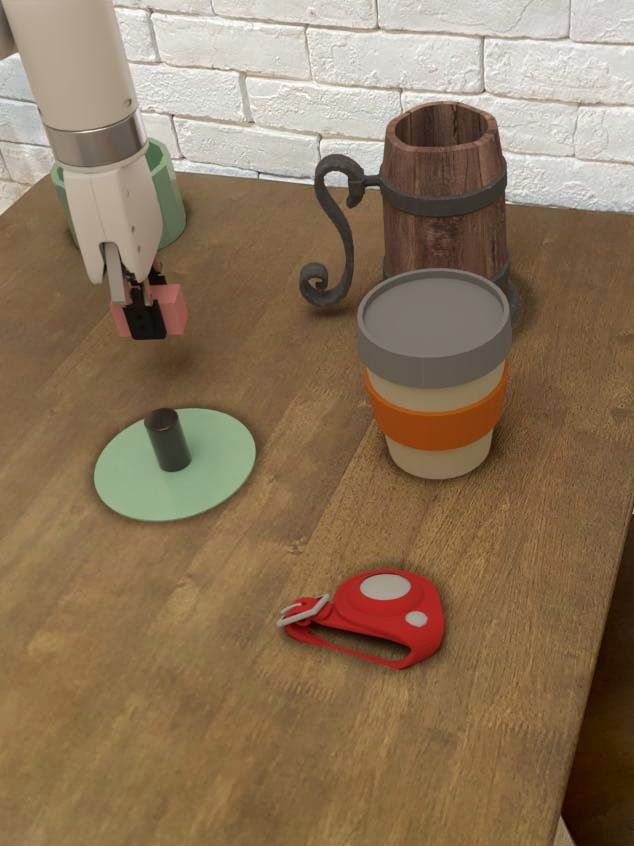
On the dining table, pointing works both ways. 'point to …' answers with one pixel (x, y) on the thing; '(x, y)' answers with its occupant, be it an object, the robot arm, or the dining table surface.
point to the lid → (174, 464)
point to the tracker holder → (375, 613)
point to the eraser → (169, 306)
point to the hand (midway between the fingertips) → (153, 324)
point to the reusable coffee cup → (435, 367)
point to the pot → (164, 187)
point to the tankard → (427, 200)
